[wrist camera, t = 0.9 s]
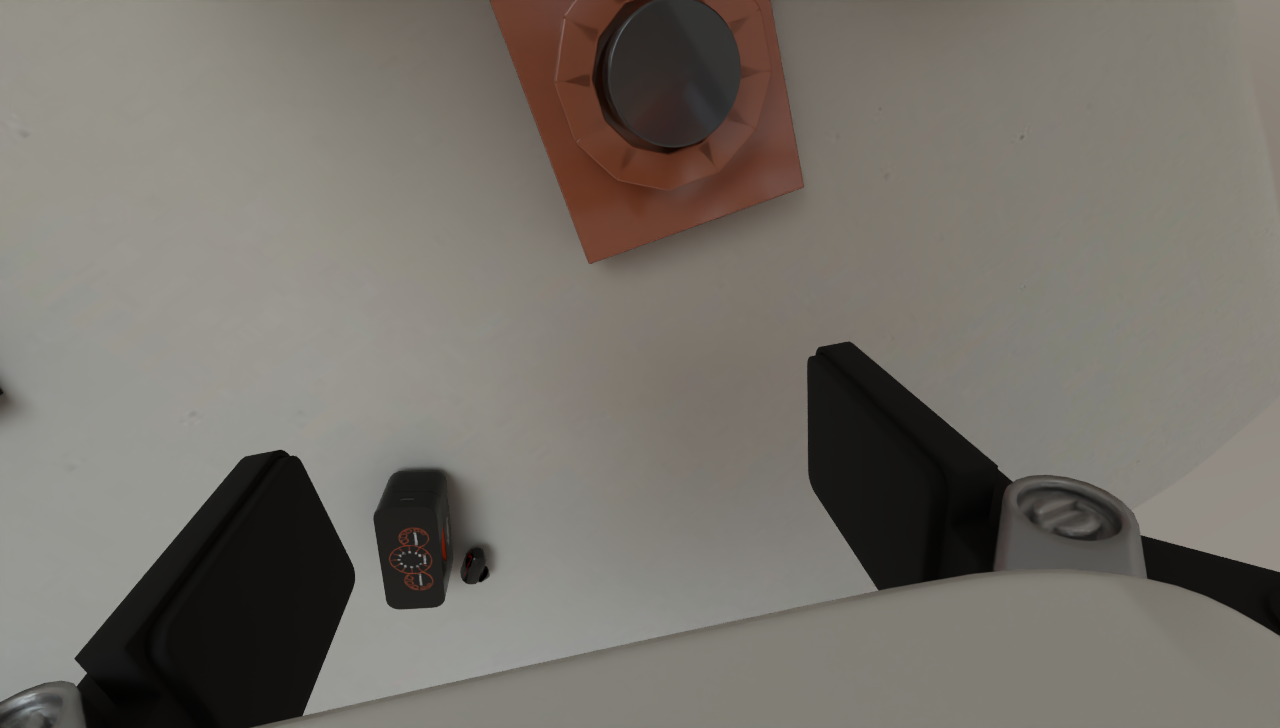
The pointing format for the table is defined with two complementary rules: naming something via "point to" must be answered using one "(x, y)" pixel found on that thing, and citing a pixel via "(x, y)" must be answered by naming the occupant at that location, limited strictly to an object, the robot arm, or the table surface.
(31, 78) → the table surface
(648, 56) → the button
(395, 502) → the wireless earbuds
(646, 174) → the push button box
